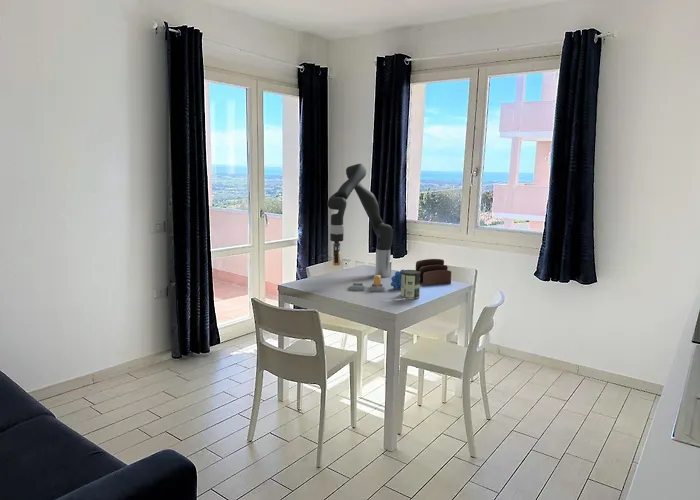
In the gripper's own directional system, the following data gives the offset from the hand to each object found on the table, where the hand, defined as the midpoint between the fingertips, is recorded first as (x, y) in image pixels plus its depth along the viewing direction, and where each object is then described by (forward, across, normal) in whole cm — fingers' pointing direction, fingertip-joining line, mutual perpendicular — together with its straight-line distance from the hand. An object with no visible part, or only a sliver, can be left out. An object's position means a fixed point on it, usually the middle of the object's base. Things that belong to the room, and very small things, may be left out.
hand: (336, 262), depth 293 cm
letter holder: (+16, -21, +58) cm, 63 cm away
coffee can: (+16, +15, +42) cm, 47 cm away
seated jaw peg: (+14, +6, +24) cm, 28 cm away
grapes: (+16, 0, +36) cm, 39 cm away
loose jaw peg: (+2, 0, 0) cm, 2 cm away
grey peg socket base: (+15, +6, +18) cm, 24 cm away
